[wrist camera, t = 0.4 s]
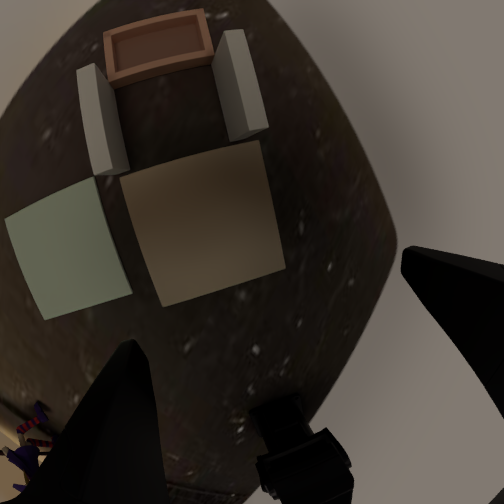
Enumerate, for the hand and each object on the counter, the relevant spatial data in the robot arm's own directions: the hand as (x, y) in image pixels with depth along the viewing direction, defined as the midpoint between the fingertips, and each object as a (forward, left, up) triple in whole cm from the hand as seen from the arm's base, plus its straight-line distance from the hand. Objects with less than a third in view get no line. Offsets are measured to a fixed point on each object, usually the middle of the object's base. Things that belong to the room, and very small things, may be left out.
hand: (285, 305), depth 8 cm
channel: (+9, +1, -15) cm, 18 cm away
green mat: (+1, +13, -15) cm, 20 cm away
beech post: (+2, +1, -15) cm, 15 cm away
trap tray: (+15, +1, -15) cm, 21 cm away
